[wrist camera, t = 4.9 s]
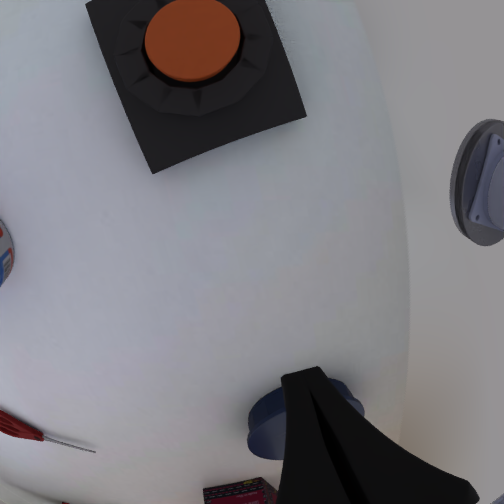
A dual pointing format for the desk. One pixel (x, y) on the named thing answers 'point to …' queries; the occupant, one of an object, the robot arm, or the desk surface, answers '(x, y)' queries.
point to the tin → (281, 403)
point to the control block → (196, 83)
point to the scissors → (25, 430)
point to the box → (242, 493)
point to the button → (192, 39)
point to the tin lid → (278, 433)
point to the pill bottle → (5, 254)
